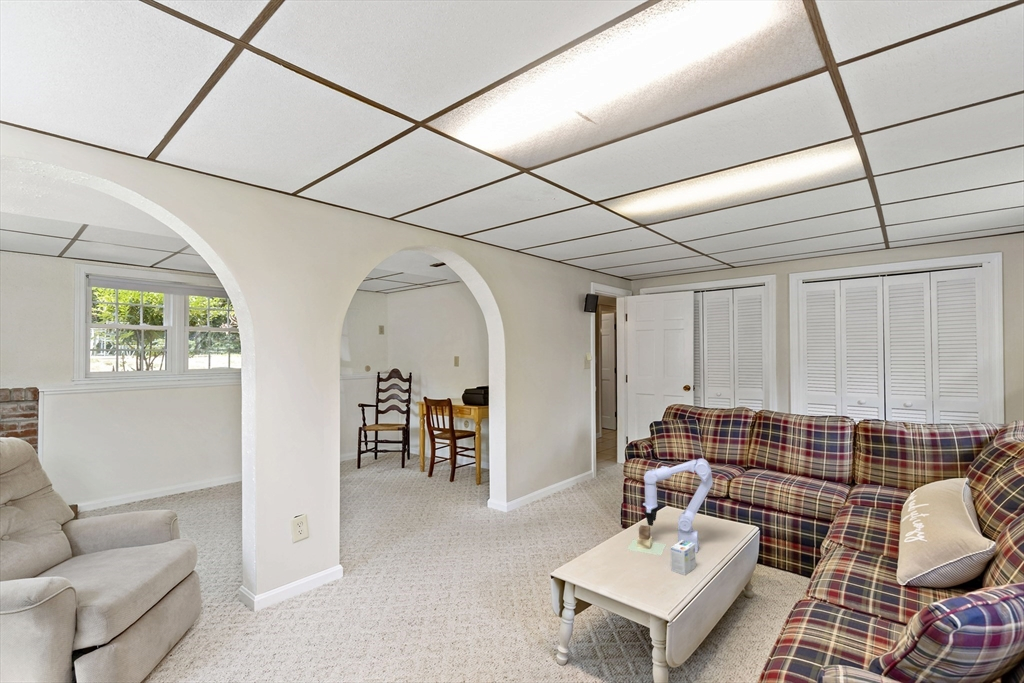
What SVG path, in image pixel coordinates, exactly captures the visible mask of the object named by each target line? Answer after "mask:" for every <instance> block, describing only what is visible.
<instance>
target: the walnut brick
mask: <svg viewBox="0 0 1024 683" xmlns="http://www.w3.org/2000/svg"><path fill="white" fill-rule="evenodd" d="M650 536H651V526H649V525H641V524H640V526H639V527H638V537H639V539H645V540H649V538H650Z"/></svg>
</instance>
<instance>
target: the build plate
mask: <svg viewBox="0 0 1024 683" xmlns="http://www.w3.org/2000/svg"><path fill="white" fill-rule="evenodd" d="M666 546H667V543H660V542H653V541H652V546H651V548H650V549H646V548H640V547H637V538H636V539H634V538H633V539H632V541H631V542H630V543H629V545H628V547H627V549H626V551H631V552H632V551H633V552H637V553H643V554H650V555H655V556H662V554H663V552H664V551H665V548H666Z"/></svg>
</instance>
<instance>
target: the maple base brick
mask: <svg viewBox="0 0 1024 683" xmlns="http://www.w3.org/2000/svg"><path fill="white" fill-rule="evenodd" d="M636 540H637V547H640V548H646V549H650V548H651V546H652V542H653V536H651V535H650V538H649V540H645V539H639V536H638V537H637V538H636Z"/></svg>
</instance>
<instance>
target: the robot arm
mask: <svg viewBox="0 0 1024 683" xmlns="http://www.w3.org/2000/svg"><path fill="white" fill-rule="evenodd" d="M683 472H690V473H693V474H694V473H696V475H697V476H698V477H699V479H700V481H701V482H700V483H699V485H698V486H697V489H696V491H694V492H695V493H694V494H693V496H692V498H691V499H690V502H689V503H688V506H686V508H685V510H684V511H683V512H682V513H680V514H679V515H678V516H679V517H678V523H677V525H678V526H677V543H678V542H679V541H680V540H684V541H688V542H691V543H695V553H698V551H699V548H700V542H699V531H698V530H695V529H694V527H693V522H694V519H695V516H696V515H697V513H698V511H699V510H700V508H701V505H702V504H703V502H704V501H705V499H706V497H707V495H708V493H709V492H710V489H711V488H712V486H713V483H714V480H713V474H712V468H711V466H710V464H709V462H708V460H706V459H705V458H698V459H692V460H689V461H685V462H684V463H680V464H677V465H675V466H672V467H671V466H670V467H669V466H667V465H665V466H664V465H662V466H660V467H659V468H655V469H654V468H652V469H651V470H647V471H646V472H645V474H644V475H643V480H644V502H643V503H642V506H644V507H645V508H646V509H644V510H643V514H644V516H645V518H646V522H647V526H650V527H652V526H654V522H655V521H656V519H657V513H658V510H659V508H660V506H659V505H658V494H657V493H658V490H657V488H658V487H657V482H660V481H663V480H667V479H670V478H671V477H672V475H675V474H676V475H677V474H679V473H683Z"/></svg>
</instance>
